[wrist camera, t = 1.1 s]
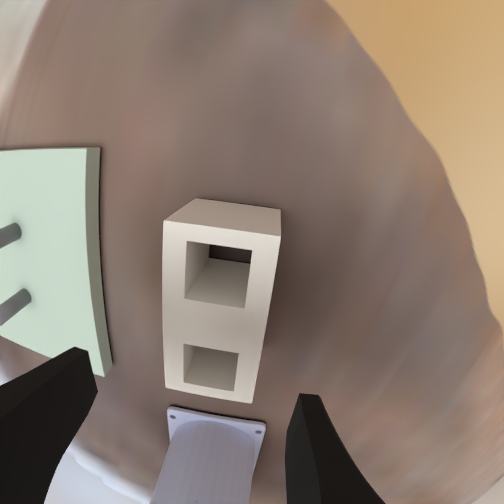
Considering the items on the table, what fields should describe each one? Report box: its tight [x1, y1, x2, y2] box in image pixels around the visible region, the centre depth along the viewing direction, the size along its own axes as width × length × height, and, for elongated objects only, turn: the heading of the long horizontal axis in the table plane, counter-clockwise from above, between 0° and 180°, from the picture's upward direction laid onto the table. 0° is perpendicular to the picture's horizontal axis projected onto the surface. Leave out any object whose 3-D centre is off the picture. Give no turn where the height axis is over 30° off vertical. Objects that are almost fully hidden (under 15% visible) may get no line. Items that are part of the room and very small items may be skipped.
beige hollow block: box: [162, 198, 281, 403], centre depth 16 cm, size 9×5×5 cm, turn 173°
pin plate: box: [0, 147, 113, 377], centre depth 17 cm, size 16×13×5 cm
